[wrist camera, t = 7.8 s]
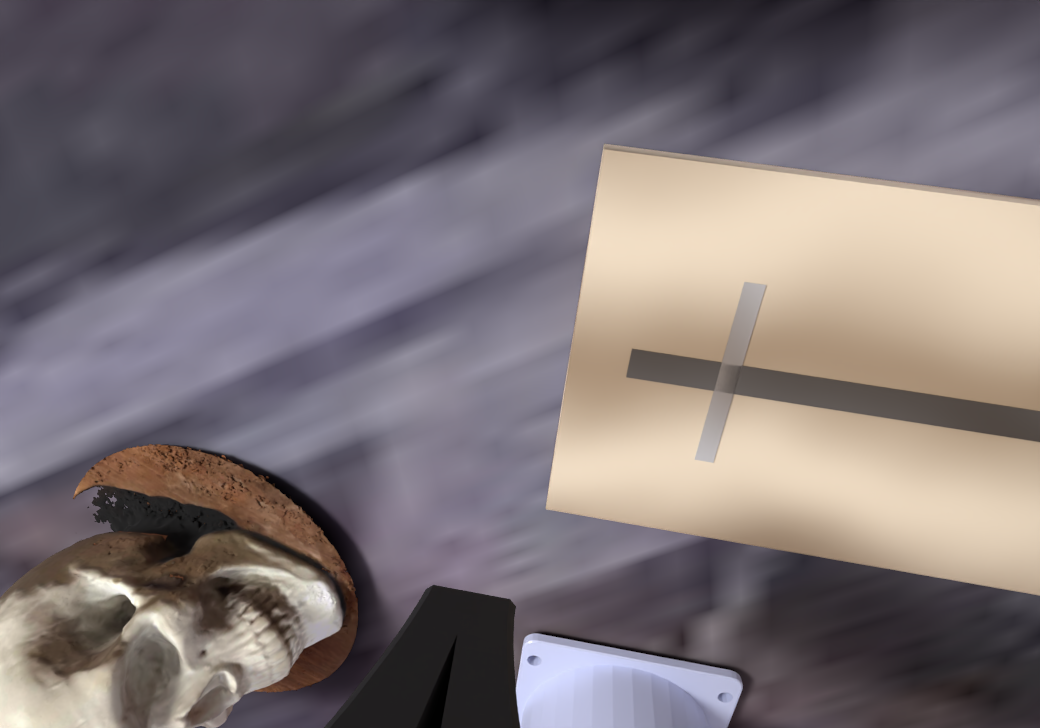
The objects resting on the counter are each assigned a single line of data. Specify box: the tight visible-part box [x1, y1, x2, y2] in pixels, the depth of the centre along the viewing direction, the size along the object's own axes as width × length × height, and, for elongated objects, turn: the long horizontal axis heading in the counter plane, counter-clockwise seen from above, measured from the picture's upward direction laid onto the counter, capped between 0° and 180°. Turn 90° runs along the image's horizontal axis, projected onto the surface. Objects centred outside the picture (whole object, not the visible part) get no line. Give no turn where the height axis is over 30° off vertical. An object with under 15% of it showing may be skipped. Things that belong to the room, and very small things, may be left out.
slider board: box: [546, 144, 1040, 595], centre depth 15 cm, size 10×20×2 cm, turn 84°
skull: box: [0, 444, 358, 728], centre depth 22 cm, size 12×10×10 cm
